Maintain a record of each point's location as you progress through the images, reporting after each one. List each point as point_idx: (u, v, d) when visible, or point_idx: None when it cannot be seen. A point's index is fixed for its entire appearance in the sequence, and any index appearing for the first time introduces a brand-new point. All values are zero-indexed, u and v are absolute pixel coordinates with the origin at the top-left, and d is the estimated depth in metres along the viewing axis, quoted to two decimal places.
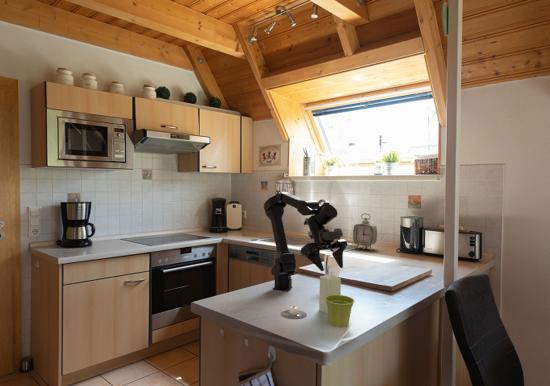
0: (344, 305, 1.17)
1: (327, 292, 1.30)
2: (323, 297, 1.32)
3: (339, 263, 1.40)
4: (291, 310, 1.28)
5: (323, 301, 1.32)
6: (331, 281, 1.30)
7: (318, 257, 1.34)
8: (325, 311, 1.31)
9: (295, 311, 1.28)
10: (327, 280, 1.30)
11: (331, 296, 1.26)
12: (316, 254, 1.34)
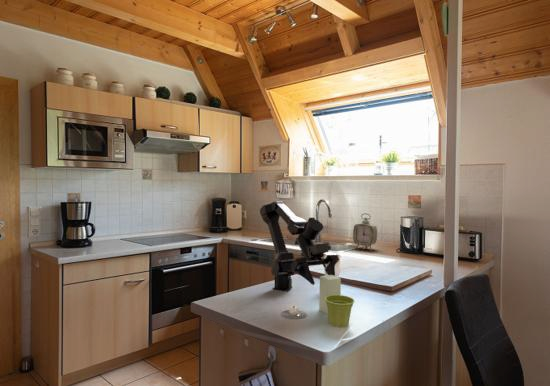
0: (344, 305, 1.17)
1: (327, 292, 1.30)
2: (323, 297, 1.32)
3: None
4: (291, 310, 1.28)
5: (323, 301, 1.32)
6: (331, 281, 1.30)
7: (308, 271, 1.35)
8: (325, 311, 1.31)
9: (295, 311, 1.28)
10: (327, 280, 1.30)
11: (331, 296, 1.26)
12: (305, 268, 1.35)
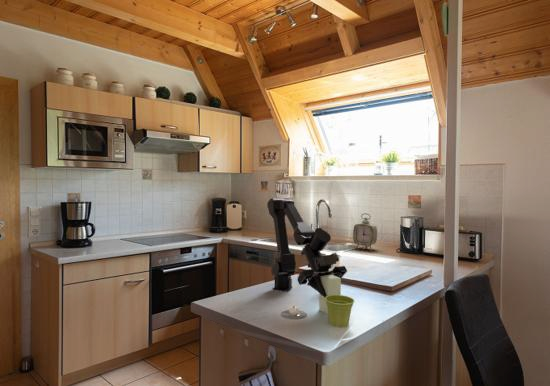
0: (344, 305, 1.17)
1: (327, 292, 1.30)
2: (323, 297, 1.32)
3: None
4: (291, 310, 1.28)
5: (323, 301, 1.32)
6: (331, 281, 1.30)
7: (319, 283, 1.32)
8: (325, 311, 1.31)
9: (295, 311, 1.28)
10: (327, 280, 1.30)
11: (331, 296, 1.26)
12: (317, 280, 1.32)
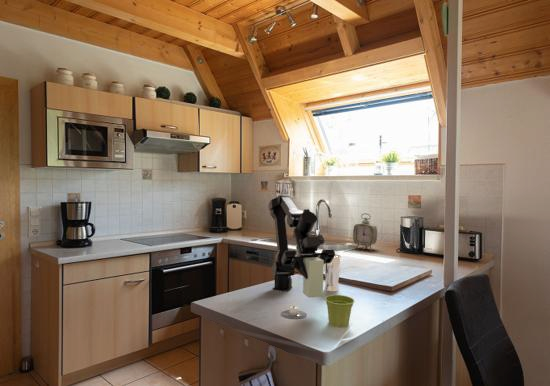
0: (344, 305, 1.17)
1: (308, 274, 1.28)
2: (305, 279, 1.30)
3: None
4: (291, 310, 1.28)
5: (305, 283, 1.30)
6: (313, 263, 1.27)
7: (302, 264, 1.30)
8: (307, 293, 1.29)
9: (295, 311, 1.28)
10: (308, 261, 1.28)
11: (331, 296, 1.26)
12: (299, 261, 1.30)
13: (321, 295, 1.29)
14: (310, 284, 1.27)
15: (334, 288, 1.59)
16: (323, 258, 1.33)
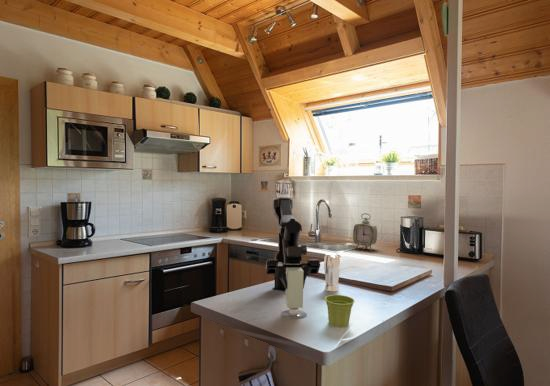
0: (344, 305, 1.17)
1: (287, 284, 1.27)
2: (286, 289, 1.29)
3: None
4: (291, 310, 1.28)
5: (286, 293, 1.29)
6: (292, 273, 1.26)
7: (283, 274, 1.30)
8: (286, 303, 1.28)
9: (295, 311, 1.28)
10: (287, 271, 1.27)
11: (331, 296, 1.26)
12: (280, 271, 1.30)
13: (301, 306, 1.27)
14: (289, 294, 1.26)
15: (334, 288, 1.59)
16: (306, 269, 1.31)
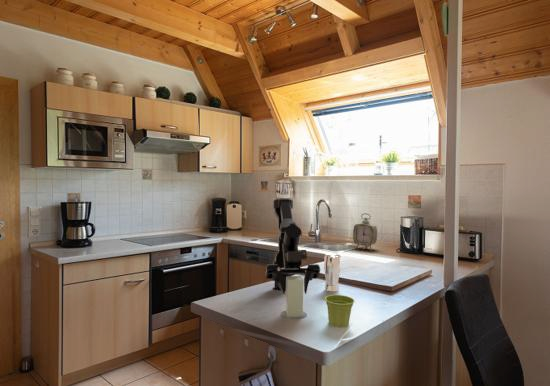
0: (344, 305, 1.17)
1: (287, 293, 1.27)
2: (286, 298, 1.29)
3: (304, 288, 1.29)
4: None
5: (286, 302, 1.29)
6: (292, 282, 1.26)
7: (280, 279, 1.29)
8: (286, 312, 1.28)
9: None
10: (287, 280, 1.27)
11: (331, 296, 1.26)
12: (278, 275, 1.30)
13: (301, 315, 1.27)
14: (289, 303, 1.26)
15: (334, 288, 1.59)
16: (309, 273, 1.31)
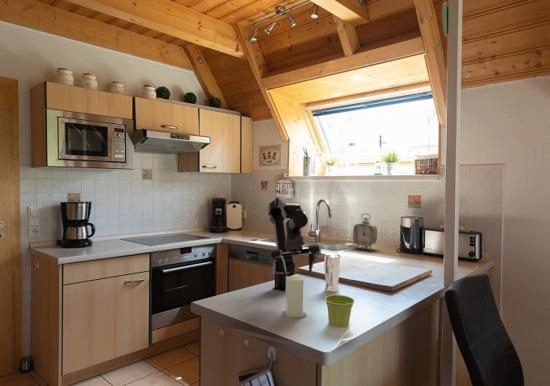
0: (344, 305, 1.17)
1: (287, 293, 1.27)
2: (286, 298, 1.29)
3: (309, 269, 1.41)
4: None
5: (286, 302, 1.29)
6: (292, 282, 1.26)
7: (281, 264, 1.42)
8: (286, 312, 1.28)
9: None
10: (287, 281, 1.27)
11: (331, 296, 1.26)
12: (279, 261, 1.42)
13: (301, 315, 1.27)
14: (289, 304, 1.26)
15: (334, 288, 1.59)
16: (311, 256, 1.39)
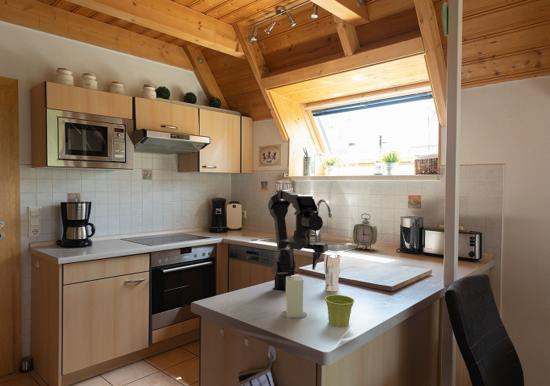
0: (344, 305, 1.17)
1: (287, 293, 1.27)
2: (286, 298, 1.29)
3: None
4: None
5: (286, 302, 1.29)
6: (292, 282, 1.26)
7: (287, 255, 1.46)
8: (286, 312, 1.28)
9: None
10: (287, 281, 1.27)
11: (331, 296, 1.26)
12: (285, 252, 1.46)
13: (301, 315, 1.27)
14: (289, 304, 1.26)
15: (334, 288, 1.59)
16: (315, 255, 1.40)
